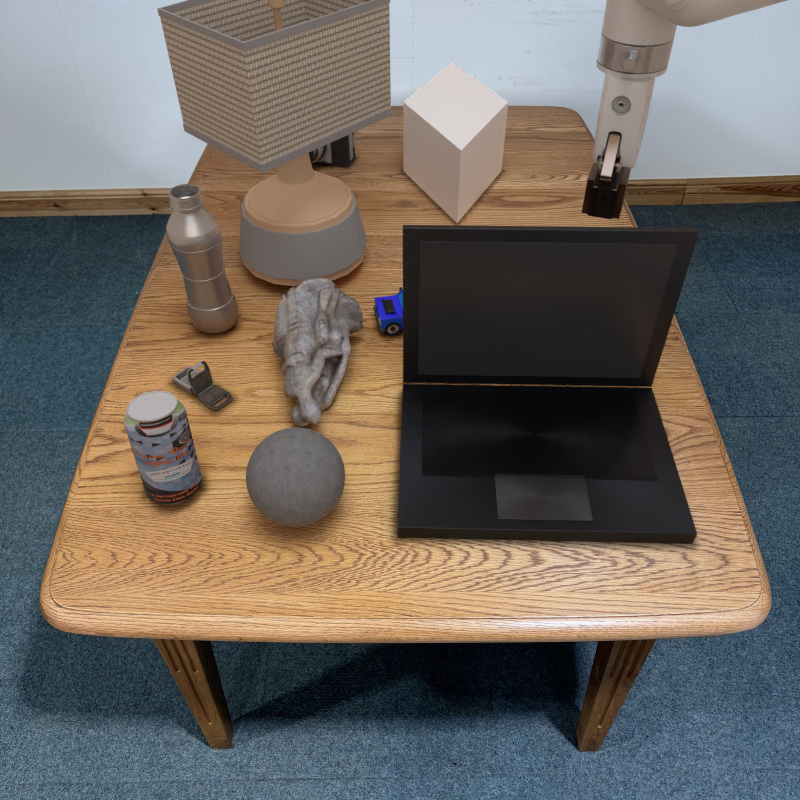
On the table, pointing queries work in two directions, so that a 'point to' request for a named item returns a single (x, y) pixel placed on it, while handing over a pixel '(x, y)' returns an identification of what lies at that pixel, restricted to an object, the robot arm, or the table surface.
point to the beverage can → (163, 447)
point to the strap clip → (201, 385)
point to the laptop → (538, 465)
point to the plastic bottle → (200, 260)
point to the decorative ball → (295, 476)
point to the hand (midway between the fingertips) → (603, 204)
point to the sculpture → (314, 344)
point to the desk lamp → (284, 115)
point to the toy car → (389, 313)
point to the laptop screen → (540, 303)
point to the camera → (335, 152)
